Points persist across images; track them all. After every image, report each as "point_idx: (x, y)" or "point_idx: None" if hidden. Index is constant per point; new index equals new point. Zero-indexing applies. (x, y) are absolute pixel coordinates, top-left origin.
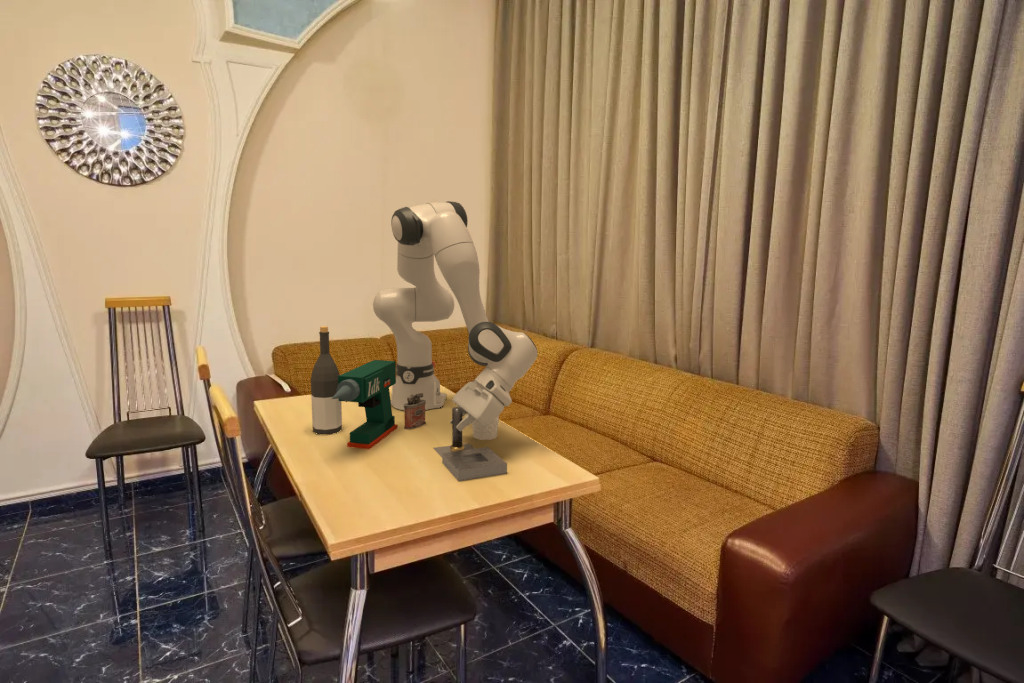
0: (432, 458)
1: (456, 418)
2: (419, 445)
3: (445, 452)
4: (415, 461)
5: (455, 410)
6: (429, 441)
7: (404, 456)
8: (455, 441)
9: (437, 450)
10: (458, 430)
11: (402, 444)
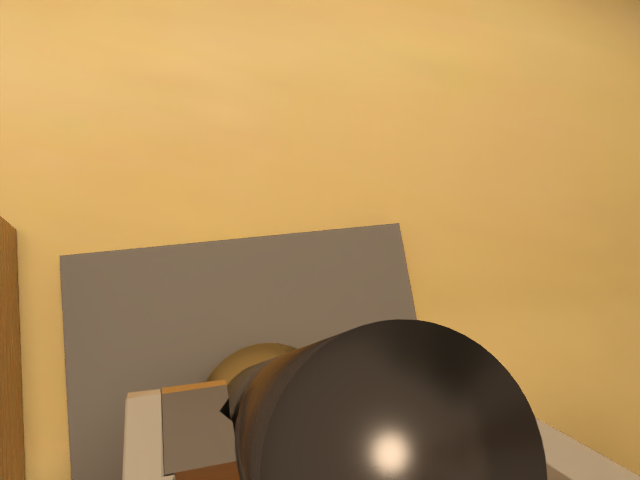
0: (198, 184)
1: (245, 408)
2: (500, 150)
3: (264, 301)
4: (169, 54)
5: (279, 389)
6: (576, 237)
7: (295, 8)
8: (230, 387)
9: (330, 245)
10: None
11: (534, 47)
